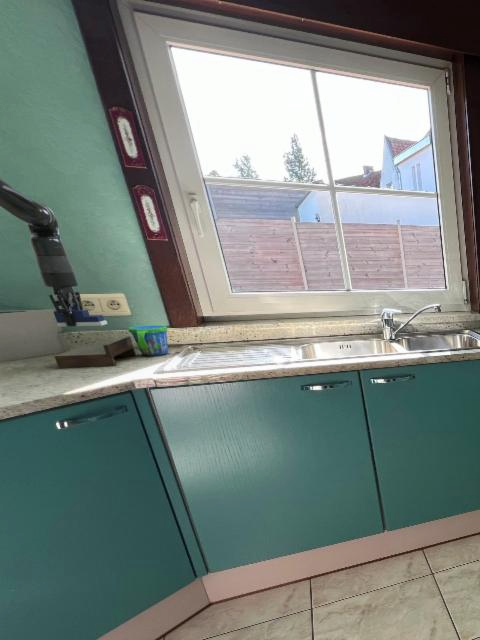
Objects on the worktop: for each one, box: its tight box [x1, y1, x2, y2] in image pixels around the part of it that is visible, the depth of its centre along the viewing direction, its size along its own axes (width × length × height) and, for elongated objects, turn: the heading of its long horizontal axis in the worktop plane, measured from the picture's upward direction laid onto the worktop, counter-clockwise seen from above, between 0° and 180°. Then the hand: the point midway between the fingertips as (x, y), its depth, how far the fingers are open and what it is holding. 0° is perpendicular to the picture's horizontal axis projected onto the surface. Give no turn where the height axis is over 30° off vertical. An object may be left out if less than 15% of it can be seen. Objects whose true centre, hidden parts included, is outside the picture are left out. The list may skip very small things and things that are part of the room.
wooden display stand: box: [54, 335, 137, 369], centre depth 170 cm, size 14×20×7 cm
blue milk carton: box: [53, 309, 108, 328], centre depth 163 cm, size 11×5×5 cm, turn 115°
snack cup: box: [128, 324, 169, 357], centre depth 183 cm, size 16×10×10 cm
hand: (75, 324), depth 163 cm, fingers closed on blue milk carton, 4 cm apart
